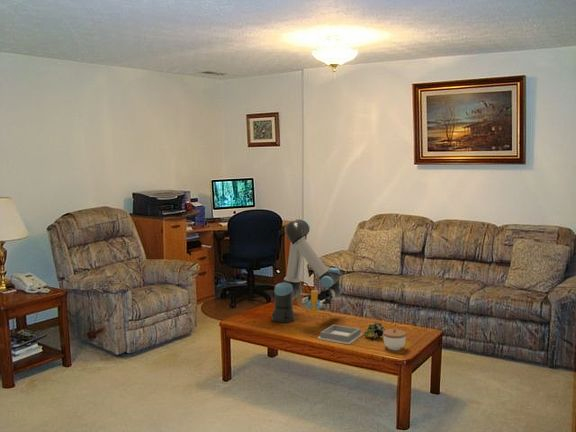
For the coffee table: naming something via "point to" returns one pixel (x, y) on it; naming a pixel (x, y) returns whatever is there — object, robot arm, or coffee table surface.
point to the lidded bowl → (394, 338)
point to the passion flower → (375, 330)
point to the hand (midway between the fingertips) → (311, 302)
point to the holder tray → (340, 334)
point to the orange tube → (313, 304)
